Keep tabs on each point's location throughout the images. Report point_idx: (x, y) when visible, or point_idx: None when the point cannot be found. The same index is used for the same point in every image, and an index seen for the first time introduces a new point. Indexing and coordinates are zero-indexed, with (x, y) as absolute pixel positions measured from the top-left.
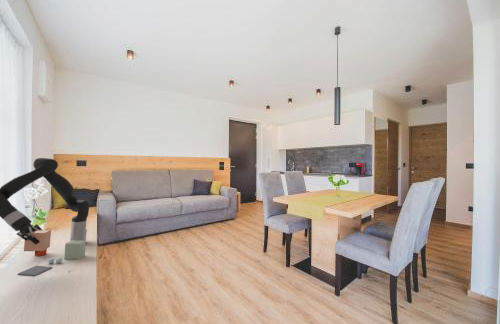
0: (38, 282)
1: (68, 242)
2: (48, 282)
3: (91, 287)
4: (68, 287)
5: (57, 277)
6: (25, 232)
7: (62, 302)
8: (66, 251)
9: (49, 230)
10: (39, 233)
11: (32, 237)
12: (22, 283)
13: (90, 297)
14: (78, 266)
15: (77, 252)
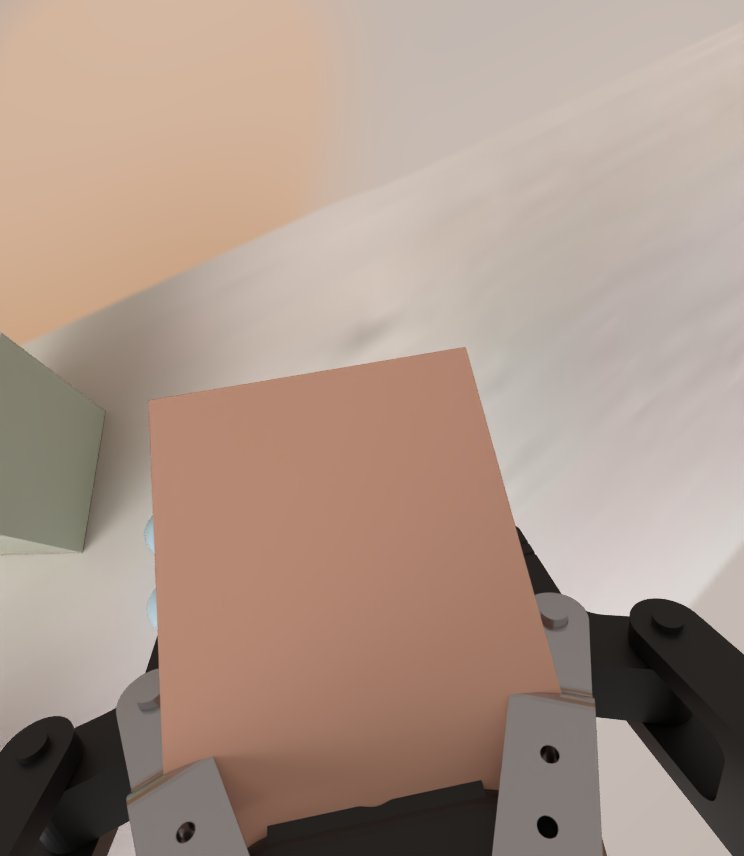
0: (559, 431)
1: None
2: (549, 363)
3: (572, 103)
4: (592, 209)
5: (470, 355)
6: None
7: (740, 149)
8: (35, 520)
9: (207, 405)
10: (499, 474)
11: (566, 608)
12: (591, 537)
13: (667, 63)
14: (272, 327)
15: (64, 405)
